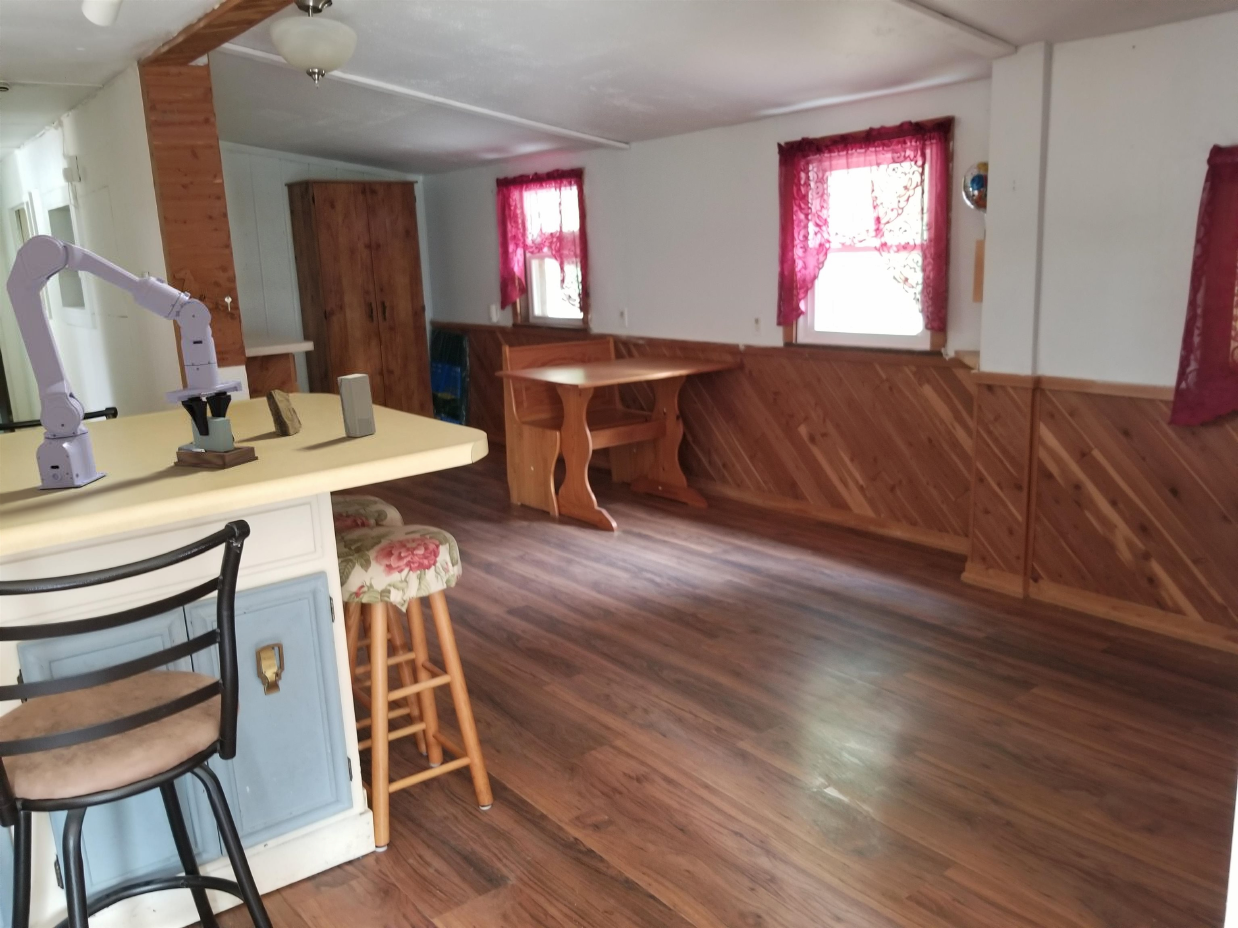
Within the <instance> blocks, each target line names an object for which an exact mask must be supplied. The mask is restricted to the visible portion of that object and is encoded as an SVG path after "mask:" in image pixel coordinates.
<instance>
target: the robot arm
mask: <svg viewBox="0 0 1238 928" xmlns="http://www.w3.org/2000/svg"><path fill="white" fill-rule="evenodd" d="M65 268H66V270H67V271H76V272H77V271H80V272H87V273H89V274H92V275H94V276H95V277H98V278H100V279H102V280H104V281H106V282H108V283H111V284H112V285H114V286H116V287H119V288H120V289H123V290H124V291H127V292H129V293H130V294H132V297H133V300H134V302H135V304H136V305H138V306H140V307H142V308H145V309H146V310H147V311H148V310H149V311H150V312H151V313H154V314H156V315H158V316H160V317H161V318H163V319H166V320H168V321H172V320H173V321H174V320H175V321H176V322H177V325H178V326H179V327H180V328H179V329H180V335H181V340H180V345H181V346H180V347H181V353H182V358H183V364H184V371H185V375H186V383H187V387H185V388H181V389H176V390H172V391H168V392H165V395H166V402H167V403H168V404H177V403H179V402H181V405H182V407H183V408H184V409H185V410H186V411H187V413H188V415H189V416H190V419H191V418H192V419H193V421H194V423H195V425H196V427H197V429H198V432H199V434H200V436H209V428H208V421H207V416H208V408H209V412H210V414H211V415H210V416H211V417H221V418H227V417H226V416H227V414H228V413H227V412H228V409H229V405H230V404H231V401H232V394H228V393H234V392H243V386H242V381H241V380H232V381H225V382H221V381H220V380H221V379H220V374H219V368H218V361H217V353H216V347H215V341H214V337H212V334H213V333H212V328H211V327H210V323H211V319H212V314H210V310H209V308H208V307H207V306H206V305H205V304H204V303H203V302H201V301H200V300H199V299H197V298H190V297H191V294H190V293H189V292H187V291H185V292H182V291H180V290H179V289H176V288H174V287H173V286H170V285H169V284H167V283H165V282H166V280H165V278H162V277H159V276H158V277H157V278H155V277H154V276H151V275H150V276H146V277H138V276H136V275H135V274H132V273H131V272H128V271H127V270H125V269H124V268H121V267H120V266H118V265H116V264H115V263H112V262H110V261H109V260H107V259H105V258H103V257H102V256H100V255H99V254H96V253H94V252H92V251H91V250H89V249H86V248H83V247H81V246H78V245H75V244H72V243H69V242H66V241H63V240H61V239H60V238H58V237H55V236H52V235H48V234H37V235H34V236H32V237H30V238H29V239H28V240H26V242H25V243H24V244H23V245H22V246H21V247H20V248H19V249H18V250H17V253H16V256H15V260H14V263H13V265H12V268H11V270H10V272H9V276H8V278H7V280H6V284H5V285H6V291H7V294H8V297H9V301H10V303H11V307H12V309H13V313H14V316H15V318H16V319H15V320H16V322H17V326H18V328H19V330H20V334H21V335H20V336H21V338H22V341H23V343H24V346H25V350H26V353H27V356H28V359H29V362H30V365H31V368H32V372H33V374H34V377H35V380H36V383H37V388H38V396H39V402H40V404H41V410H40V414H39V420H40V424H41V426H42V427H43V428H44V430H45V431H44V432H43V433H42V434H43V442H42V443H40V445H38V448H37V450H36V454H35V456H36V457H35V458H36V463H37V467H38V472H39V477H40V483H41V484H40V485H38V486H37V490H43V489H45V490H46V489H61V488H63V489H64V488H76V487H78V488H79V487H83V486H85V485H87V484H89V483H91V482H94V481H96V480H98V479H100V478H102V477H104V476H106V475H108V473H107V472H106V471H101V472H98V471H97V468H96V463H95V457H94V452H93V447H92V441H91V436H90V435H91V434H90V431H89V428H88V427H86V426H85V425H84V424H83V423H82V421H83V419H84V417H85V407H84V404H82V402H81V401H80V400H79V399H78V398H77V397H76V396H75V394H74V392H73V388H72V386H71V384H70V382H69V379H68V377H67V375H66V371H65V368H64V365H63V362H62V359H61V355H60V353H59V349H58V346H57V342H56V340H55V337H54V334H53V330H52V327H51V324H50V320H49V317H48V314H47V311H46V309H45V308H46V307H45V304H44V302H43V298H42V295H41V292H42V290H43V289H44V288H45V286H46V285H47V284H48V282H49V281H50V280H51V278H52V277H53V276H55V275H57V274H58V273H60V272H61V271H62V270H64V269H65ZM203 398H205V400H203Z"/></svg>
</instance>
